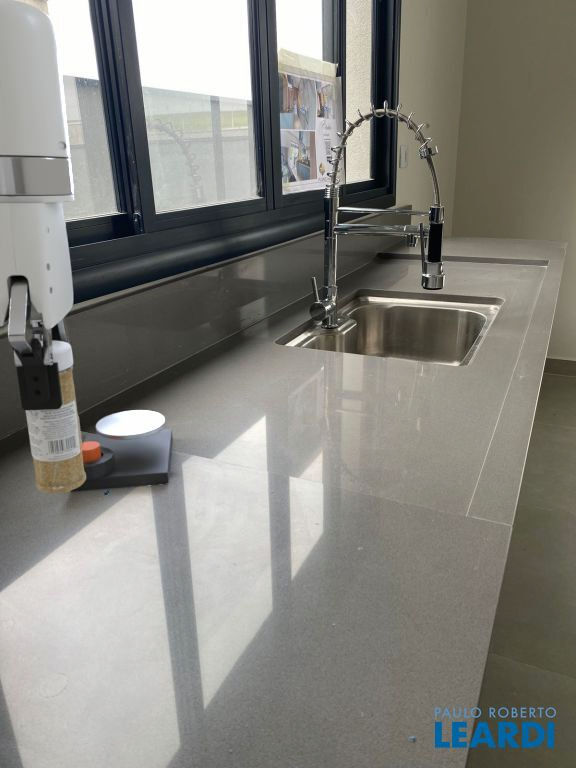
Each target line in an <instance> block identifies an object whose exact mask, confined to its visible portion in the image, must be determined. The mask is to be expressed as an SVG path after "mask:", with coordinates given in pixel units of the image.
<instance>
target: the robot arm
mask: <svg viewBox="0 0 576 768" xmlns="http://www.w3.org/2000/svg"><path fill="white" fill-rule="evenodd" d="M58 35H59V34H58V31H57V27H56V24H55V23H54V21H53V19H52V18H51V17H50V15H48V14H47V13H46V12H45V11H44V10H43V9H41V8H39V7H37V6H35V5H32V4H30V3H26V2H22V1H20V0H19V1H18V0H0V332H2V331H4V330H5V329H7V328H8V329H7V339H8V342H9V344H10V345H11V348H12V350H13V356H14V365H15V368H16V369H15V370H16V375H17V383H18V388H19V398H20V403H21V408H22V409H23V410H24V411H26V410H27V411H28V410H52V409H59V408H61V406H62V404H63V402H62V393H61V385H60V376H59V368H58V362H54V363H53V345H52V341H63V342H67V343H69V344H70V334H69V329H68V323H67V315H68V313H70V311H71V310H72V308H73V306H74V286H73V274H72V272H73V271H72V264H71V257H70V248H69V241H68V233H67V228H66V227H67V223H66V220H65V213H64V207H63V203H74V202H75V191H74V181H73V171H72V162H71V161H72V160H71V159H70V158H71V150H70V140H69V131H68V123H67V121H68V120H67V113H66V112H67V111H66V101H65V100H66V99H65V89H64V82H63V72H62V62H61V51H60V43H59V36H58ZM33 335H34V337H33ZM39 341H42V345H41V342H39ZM73 365H74V364H73ZM73 365H72V366H73ZM73 367H74V366H73ZM72 373H73V382H74V384H75V375H74V369H73V370H72Z"/></svg>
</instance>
